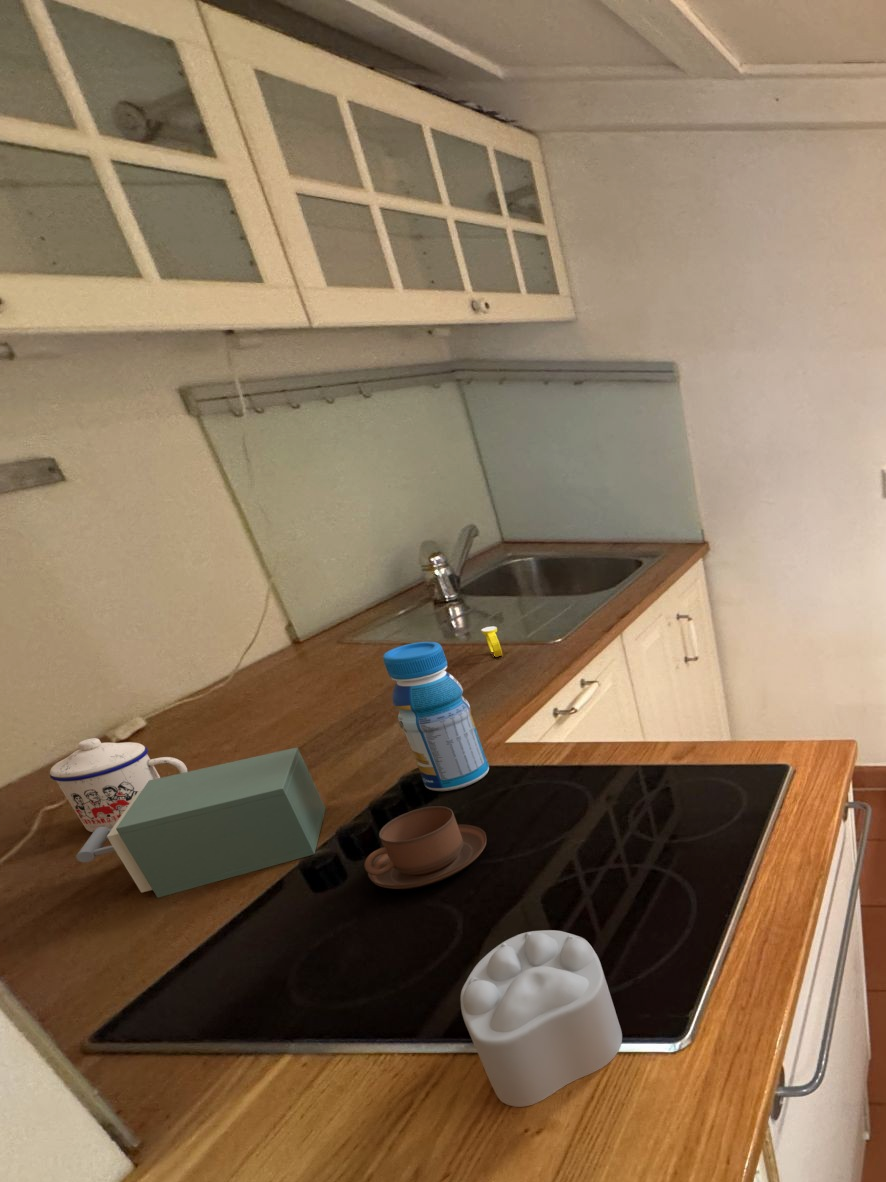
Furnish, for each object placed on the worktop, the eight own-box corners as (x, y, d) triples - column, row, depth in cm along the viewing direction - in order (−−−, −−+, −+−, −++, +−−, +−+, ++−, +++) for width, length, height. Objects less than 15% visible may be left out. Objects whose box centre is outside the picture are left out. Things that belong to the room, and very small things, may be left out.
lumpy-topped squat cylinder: (501, 1122, 61) (467, 1044, 57) (472, 1022, 70) (442, 949, 66) (634, 1050, 66) (611, 975, 63) (591, 967, 76) (569, 897, 72)
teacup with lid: (72, 843, 99) (22, 765, 94) (98, 810, 106) (53, 736, 101) (194, 814, 104) (152, 739, 99) (211, 785, 112) (173, 714, 107)
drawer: (90, 906, 86) (52, 849, 82) (122, 856, 94) (89, 802, 91) (289, 852, 94) (262, 798, 91) (301, 810, 103) (277, 759, 99)
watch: (486, 653, 158) (478, 626, 155) (501, 650, 159) (493, 623, 157) (492, 661, 154) (483, 633, 151) (508, 658, 155) (499, 630, 153)
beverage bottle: (472, 792, 107) (425, 659, 99) (411, 795, 107) (358, 663, 99) (502, 762, 115) (460, 637, 106) (444, 765, 115) (398, 640, 106)
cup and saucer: (438, 903, 85) (420, 858, 83) (347, 894, 87) (326, 850, 85) (512, 840, 96) (498, 798, 93) (429, 834, 98) (413, 793, 96)
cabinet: (157, 898, 88) (115, 828, 84) (185, 844, 98) (148, 780, 94) (314, 854, 95) (282, 788, 91) (326, 808, 105) (297, 747, 101)
